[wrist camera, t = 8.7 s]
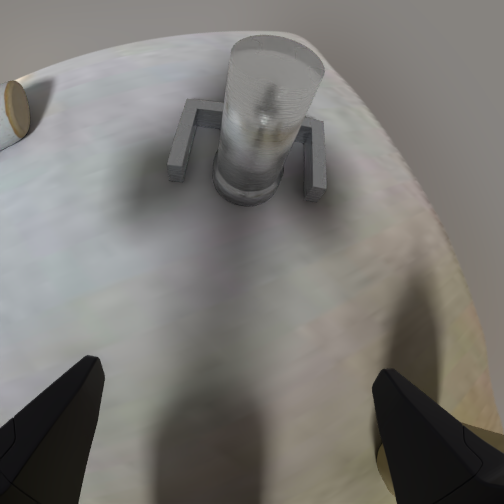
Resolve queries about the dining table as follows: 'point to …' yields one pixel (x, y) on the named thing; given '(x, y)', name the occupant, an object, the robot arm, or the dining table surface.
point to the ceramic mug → (13, 113)
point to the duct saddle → (212, 117)
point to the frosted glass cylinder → (262, 115)
